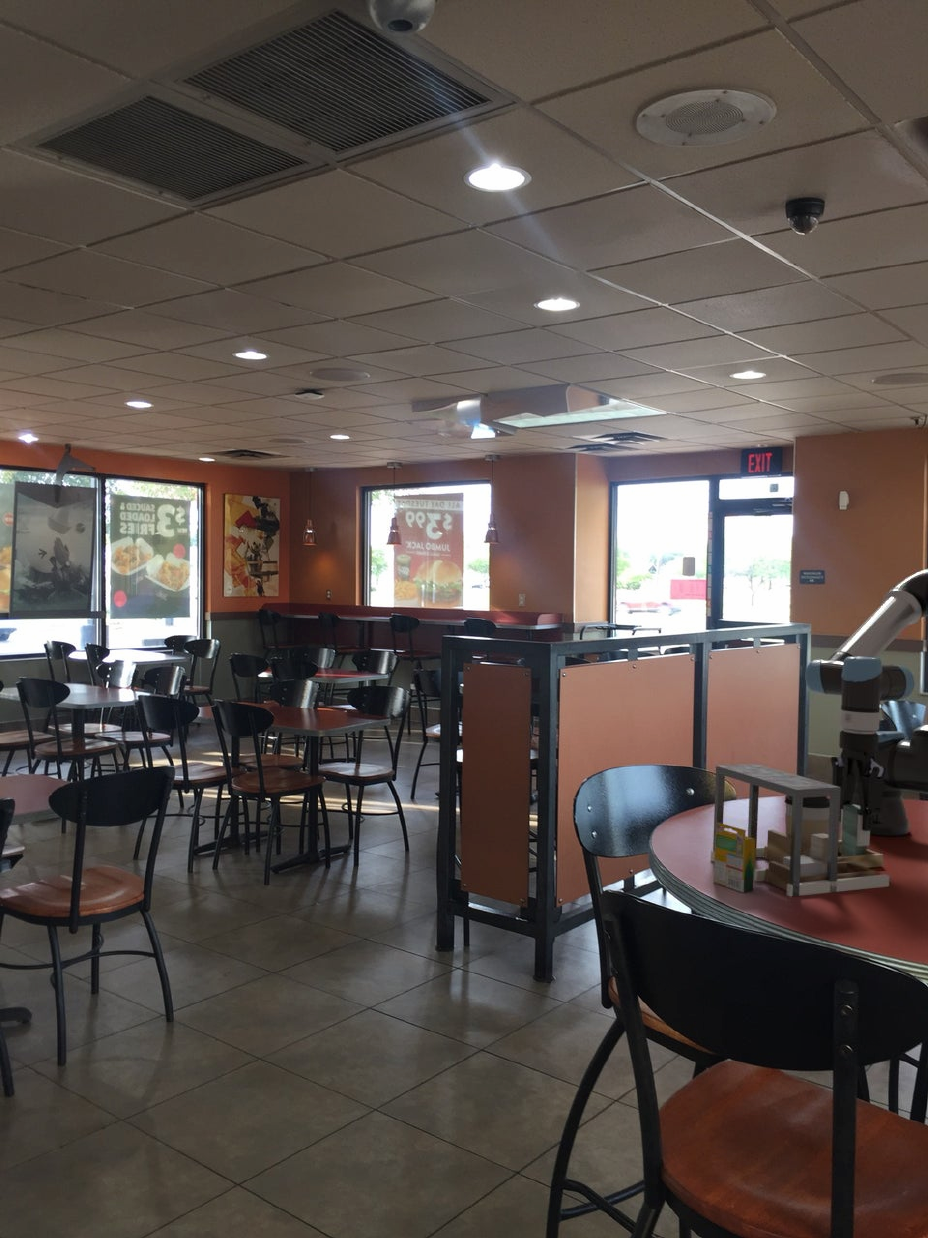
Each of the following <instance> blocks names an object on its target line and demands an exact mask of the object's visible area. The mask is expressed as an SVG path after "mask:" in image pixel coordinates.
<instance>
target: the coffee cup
mask: <svg viewBox="0 0 928 1238" xmlns="http://www.w3.org/2000/svg"><path fill="white" fill-rule="evenodd" d="M792 801H793V797H791V796H788V795H785V796H784V803H785V814H784V818H785V834H786V835H788V836H791V826H792ZM829 807H830V798H828V796H821V797H805V798H803V811H802V837H801V840H802V841H805V842H806V856H808V857H810V851H811V834H823V833H824V834H827V835H828V832H829Z"/></svg>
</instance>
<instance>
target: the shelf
mask: <svg viewBox="0 0 928 1238" xmlns="http://www.w3.org/2000/svg"><path fill="white" fill-rule="evenodd" d="M726 777H728V778H729V779H730V778H731V779H734V780H737V781H740V782H743V783H746V784H749V799H748V800H749V801H748V821H747V822H748V825H747V826H748V827H747V837H750V838H754V839H755V849H756V847H758V846H757V843H758V819H759V818H758V816H759V794H760V793H759V792H760V791H759V790H760V788H763V789H766V790H770V791H773V792H776V793H779V794H783V795H785V796H786V795H788V796H791V797H793V801H792V826H791V852H790V877H789V884H791V885H796V886H793V888H794V887H795V888H794V889H793V895H792V896H791V897H799V895H797V893H798V894H799V891H798V890H799V887H800V886H798V885H800V862H801V837H802V811H803V798H805V797H821V796H826V797H829V799H830V807H829V829H828V857H827V881H830V882H831V883H832V884H833V883H834V882H835V881H837V864H838V857H839V853H838V840H840V833H839V832H840V821H839V818H840V817H839V816H840V791H841V787H838V786H834V785H832V784H830V783H826V782H823V781H820V780H815V779H811V778H809V777H805V776H802V775H799V774H794V773H790V772H787V771H783V770H780V769H777V768H773V767H770V766H765V765H761V764H759V763H750V764H749V763H747V764H745V763H744V764H724V765H723V764H722V765H716V766H715V783H714V784H715V787H714V788H715V789H714V790H715V791H714V811H713V813H714V814H713V815H714V817H713V836H712V837H713V839H712V840H713V841H712V842H713V843H712V846H713V847H712V851H715V839H716V822H718V823H722V824H724V814H725V813H724V809H725V808H724V807H725V805H724V804H725V786H726V785H725V783H726V780H725V779H726ZM755 855H756V853H755ZM832 884H831V885H832ZM834 884H835V883H834ZM797 886H798V887H797ZM831 888H832V889H833V886H831V887H830V889H831ZM834 888H837V886H836V887H835V886H834ZM795 889H796V890H795ZM832 889H831V890H830V892H829V893H836V892H835V891H836V889H833V890H832ZM834 890H835V891H834ZM832 891H833V892H832ZM794 895H795V896H794Z"/></svg>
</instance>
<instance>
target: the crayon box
mask: <svg viewBox="0 0 928 1238" xmlns="http://www.w3.org/2000/svg"><path fill="white" fill-rule="evenodd" d="M725 829H728V830H725ZM729 829H731V830H732V831H733V832H732V831H729ZM746 831H747V830H746V829H742V828H739V827H735V826H733V825H732V826H731V825H730V824H729V825H728V824H725V823H723V824H722V823H718V822H716V839H715V862H714V865H713V866H714V867H713V883H714V884H717V885H721V886H723V887H727V888H729V889H732V890H735V891H738V892H740V893H742V894H744V893H748V892H752V891H754V881H755V880H754V870H755V858H754V857H755V839H754V838H750V837H748V835H746ZM735 832H736V833H735Z"/></svg>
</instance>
